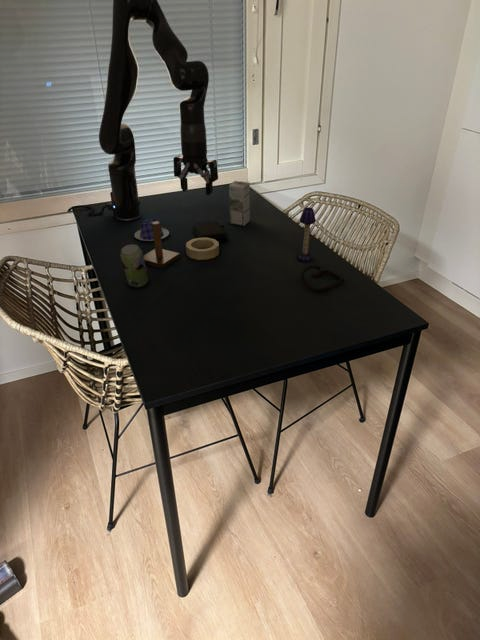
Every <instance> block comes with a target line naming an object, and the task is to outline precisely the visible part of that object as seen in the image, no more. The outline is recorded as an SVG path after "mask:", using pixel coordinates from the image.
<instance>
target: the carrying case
mask: <svg viewBox="0 0 480 640" xmlns="http://www.w3.org/2000/svg"><path fill="white" fill-rule="evenodd" d="M192 229H193V231H194V233H195V235H196V238H211V239H215V240H216V241H218V242H219V243H220V242H225V240H226V239H227V238H228V233H226V231H225V225H224V224H222V223H221V222H218V221H217V220H214V219H213V220H205V221H204V220H203V221H197V222H194V223H193V225H192Z"/></svg>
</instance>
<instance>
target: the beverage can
mask: <svg viewBox="0 0 480 640" xmlns="http://www.w3.org/2000/svg"><path fill="white" fill-rule="evenodd" d="M119 256H120V261H121V264H122V268H123V270H124V274H125V277H126V281H127V284H128V285H129V286H130V287H132V288H141V287H144V286H145V285H146V284H148V282H149V280H150V276H149V272H148V269H147V265H146V264H145V261H144V257H143V256H144V254H143V250H142V249H141V248H140V246H138V245H137V244H134V243H131V244H127V245H125V246H123V247H122V248H121V250H120V255H119Z"/></svg>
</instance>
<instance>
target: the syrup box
mask: <svg viewBox="0 0 480 640" xmlns="http://www.w3.org/2000/svg"><path fill="white" fill-rule="evenodd" d="M250 189H251V185H250V182H247V181H238V180H235V181H232V182H231V183H230V184H229V185H228V194H229V195H228V196H229V224H231V225H236V226H241V227H242V226H243V227H245V226H246V225H247V224H248V223H250V221H251V214H250V213H251V212H250V211H251V209H250V202H251V201H250V199H251V198H250V197H251V196H250V195H251V193H250V192H251V191H250Z"/></svg>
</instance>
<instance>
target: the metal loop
mask: <svg viewBox="0 0 480 640" xmlns="http://www.w3.org/2000/svg"><path fill="white" fill-rule="evenodd" d="M311 269H315V270H317V271H318V272H315V274H314V275H313V277H315V278H316V277H320V276H321V275H324V274H329V275H331V276H333V277H335V278H337V279H338V280H337V281H335V282H333V283H331V284H328V285H327V286H324V287H323V286H322V287H315V286H311V285H310V284H309V283H308V282H307V281H306V279H305V273H306V272H307V271H308V270H311ZM299 277H300V280H301V283H302V284H303V286H304V287H305V288H307V289H308V290H310V291H313V292H317V293H320V292H326V291H329V290H331V289H333V288H335V287H337V286H339V285H341V284H342V283H344V276H343V275H340V274H339V273H337V272H336V271H333V270H331V269H329V268H326V269H323V270H321V266H319V265H317V264H309V265H307V266H304V267H303V268H302V269H301V270H300V276H299Z"/></svg>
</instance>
